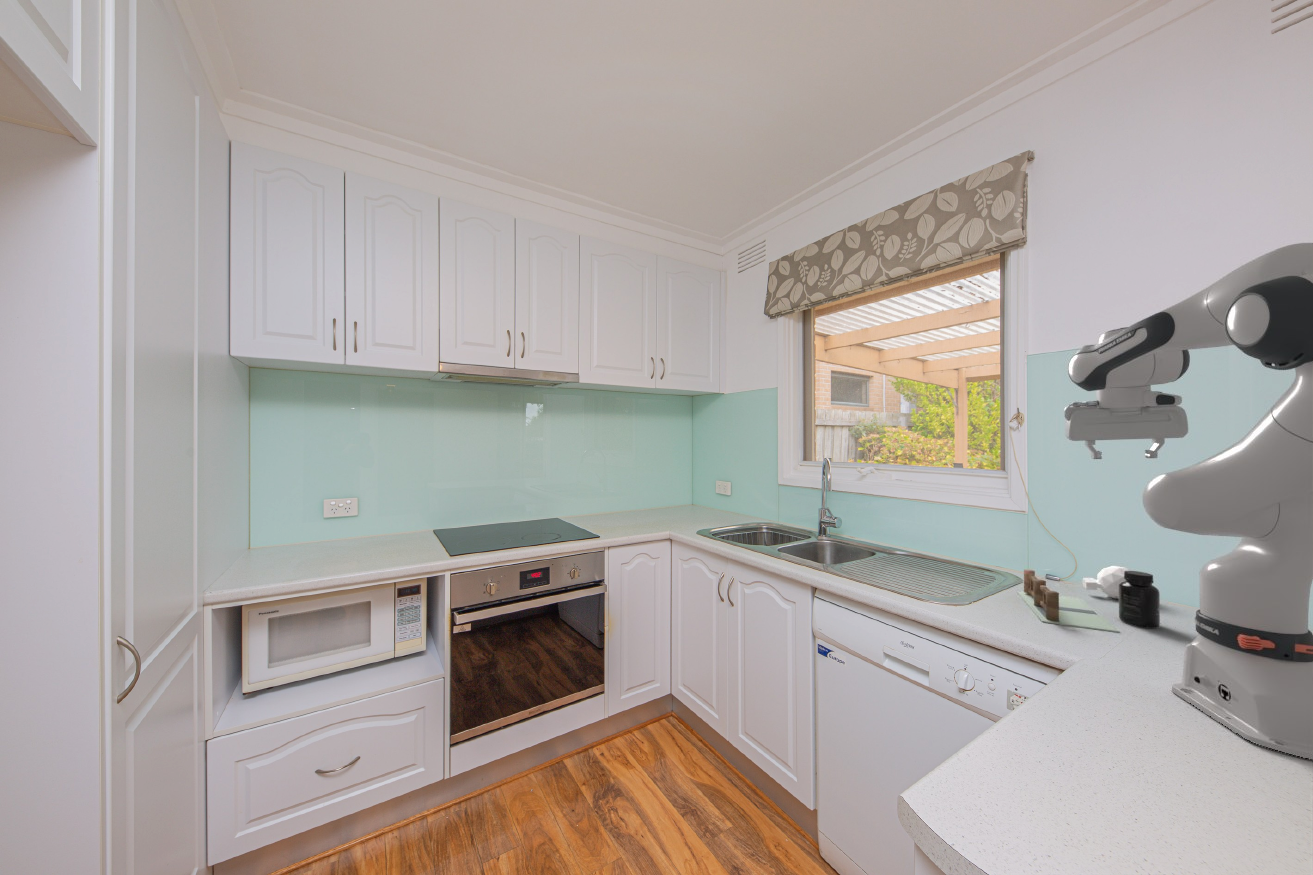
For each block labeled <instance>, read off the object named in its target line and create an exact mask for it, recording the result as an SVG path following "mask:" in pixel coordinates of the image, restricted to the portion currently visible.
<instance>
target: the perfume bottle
mask: <svg viewBox="0 0 1313 875" xmlns="http://www.w3.org/2000/svg"><path fill="white" fill-rule="evenodd" d="M1125 571H1132V570H1130V569H1129V568H1127V567H1124V566H1123V567H1122V566H1118V565H1111V566H1108V567H1104V568H1102V569H1101V570H1100V571H1099V572H1098V573H1097V574H1096V576H1097V577H1096V578H1097V579H1095V578H1094V577H1082V587H1084V588H1085V590H1088V591H1089V590H1093V591H1094V590H1095V591H1096V590H1097V591H1098V589H1100V590H1101V592H1102V593H1104V594H1105V595H1107V596H1108V597H1110V598H1111V599H1117V600H1119V584H1120V583H1121V582H1124V581H1125V579H1124V572H1125Z"/></svg>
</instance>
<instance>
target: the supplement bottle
mask: <svg viewBox="0 0 1313 875" xmlns="http://www.w3.org/2000/svg"><path fill="white" fill-rule="evenodd" d="M1124 579H1125V581H1124V582H1121V583H1120V584H1119V599H1118V618H1119V620H1120V621H1122V622H1123V623H1125V624H1128V625H1129V626H1130V625H1131V626H1134V627H1138V628H1139V627H1140V628H1146V629H1157V628H1159V627H1160V625H1161V623H1160V622H1161V616H1160V615H1161V613H1160V612H1161V609H1160V608H1161V605H1160V603H1161V602H1160V601H1161V598H1160V597H1161V596H1160V590H1159V589H1158V588H1157V587H1156V586H1155V585H1153V584H1154V575H1153V574H1152V573H1148V572H1144V571H1136V570H1131V571H1125V572H1124Z"/></svg>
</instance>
